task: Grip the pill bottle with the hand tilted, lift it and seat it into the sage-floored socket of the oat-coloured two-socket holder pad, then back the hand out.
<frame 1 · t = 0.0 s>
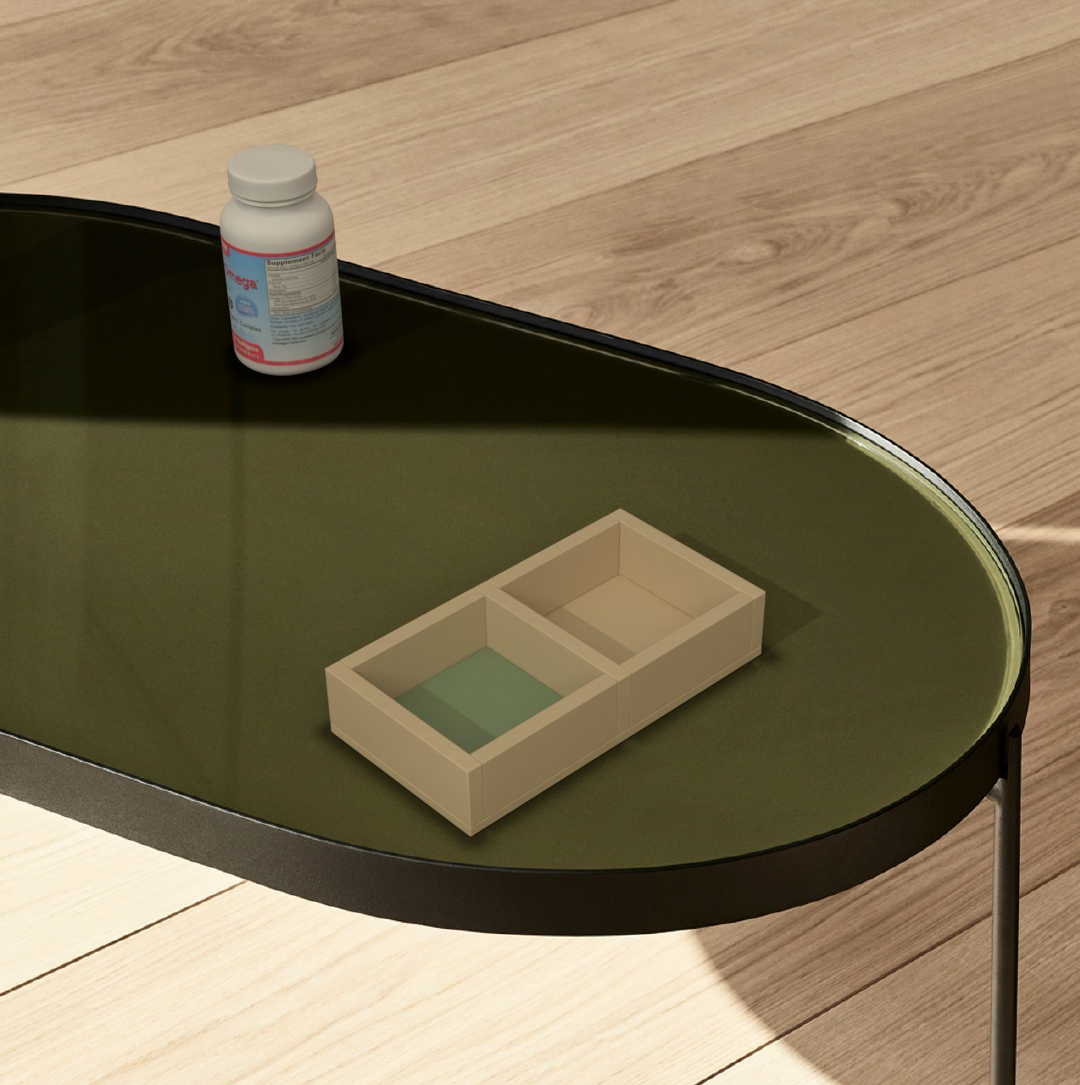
pill bottle: (290, 355, 109), on the table
holder: (551, 692, 86), on the table
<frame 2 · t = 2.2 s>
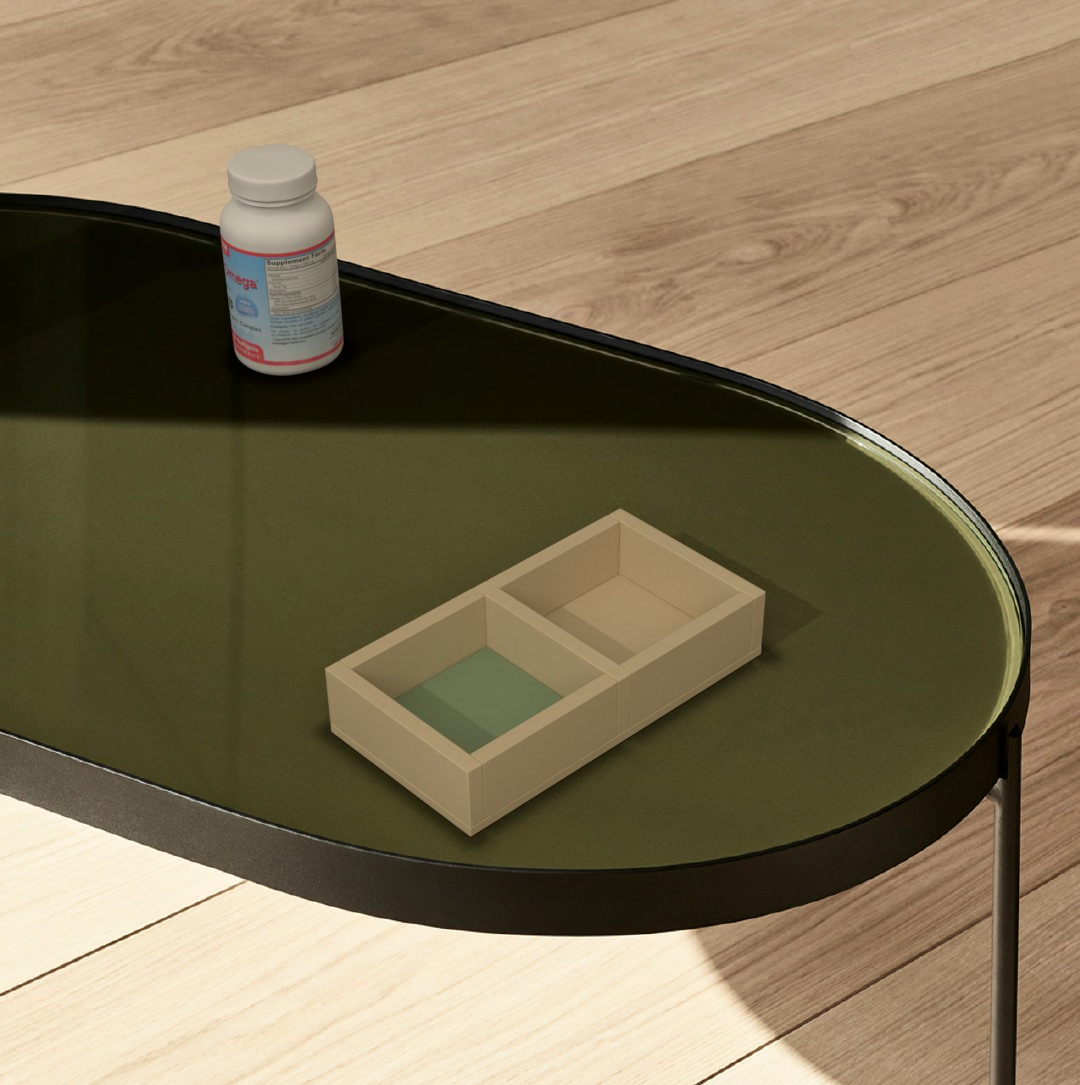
nothing on the table moved.
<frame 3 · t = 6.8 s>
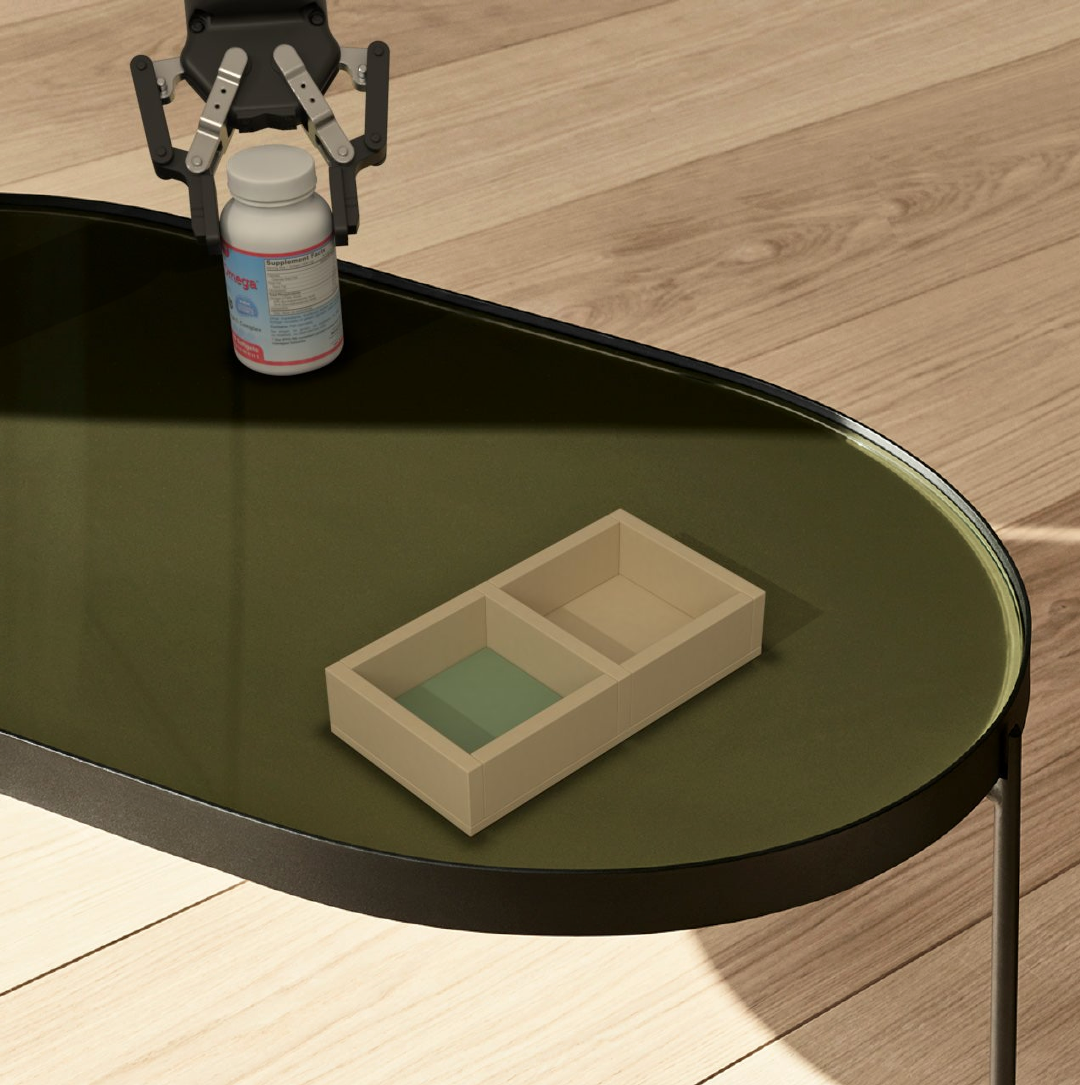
hand: (278, 245, 103), 7 cm above the table, tool tilted 45°, fingers closed on pill bottle, 6 cm apart
pill bottle: (290, 355, 109), on the table, touching gripper
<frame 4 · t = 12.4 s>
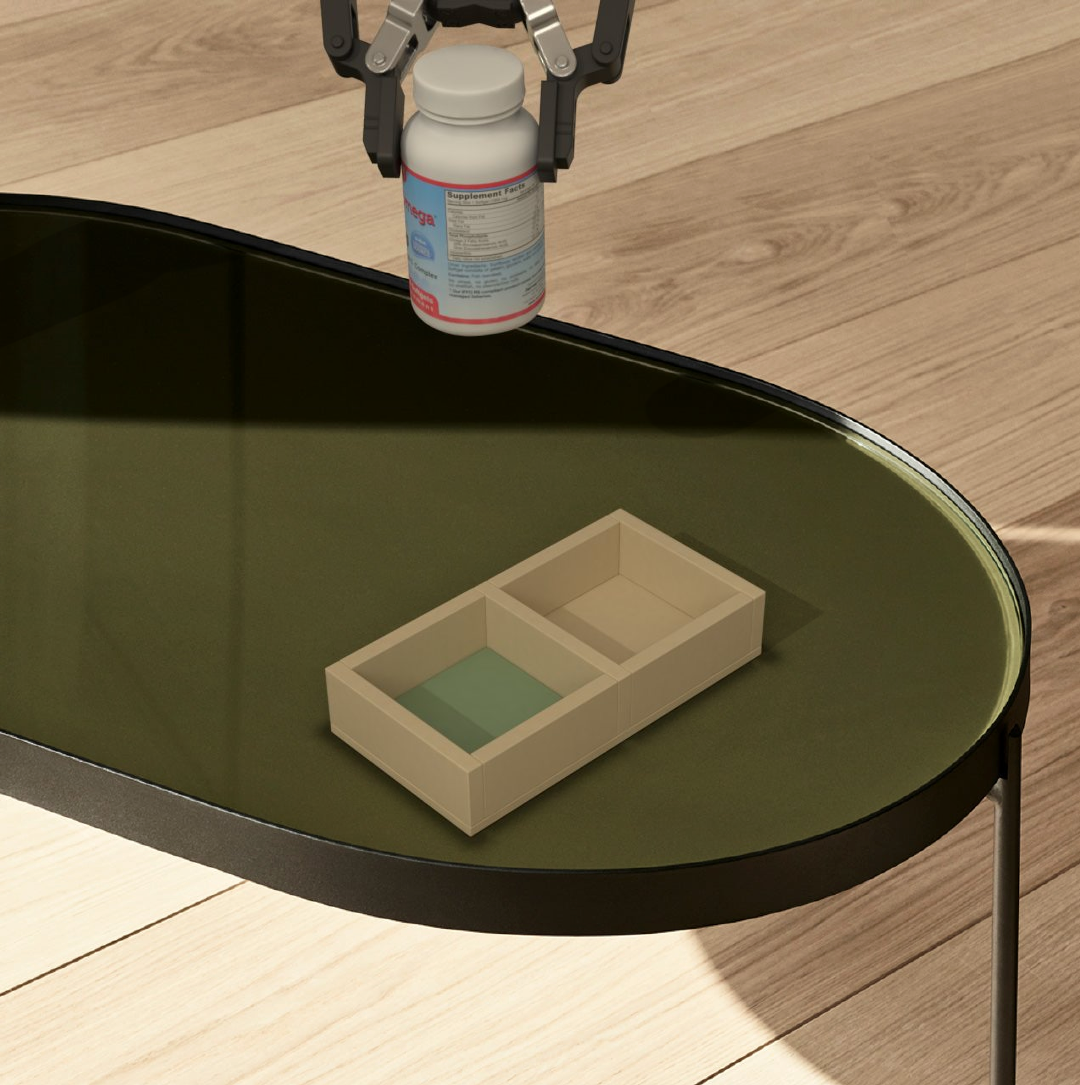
hand: (468, 173, 82), 19 cm above the table, tool tilted 40°, fingers closed on pill bottle, 6 cm apart
pill bottle: (479, 310, 88), point 12 cm above the table, touching gripper
when the fingers open (8 cm above the table, at t = 18.0 s): pill bottle stays where it is, resting on holder.
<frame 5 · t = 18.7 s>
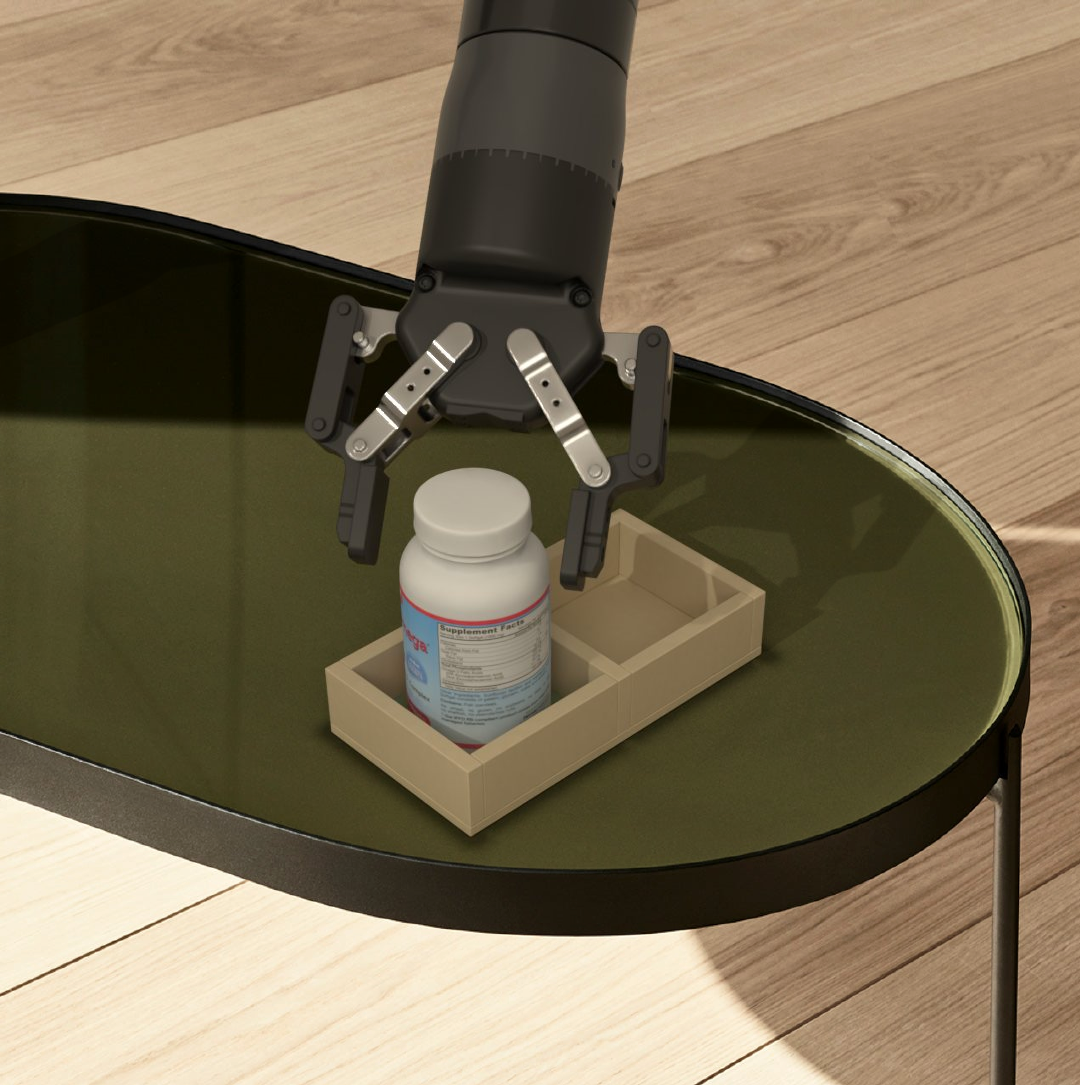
hand: (465, 574, 77), 9 cm above the table, tool tilted 45°, fingers open, 8 cm apart
pill bottle: (480, 722, 84), point 1 cm above the table, touching holder
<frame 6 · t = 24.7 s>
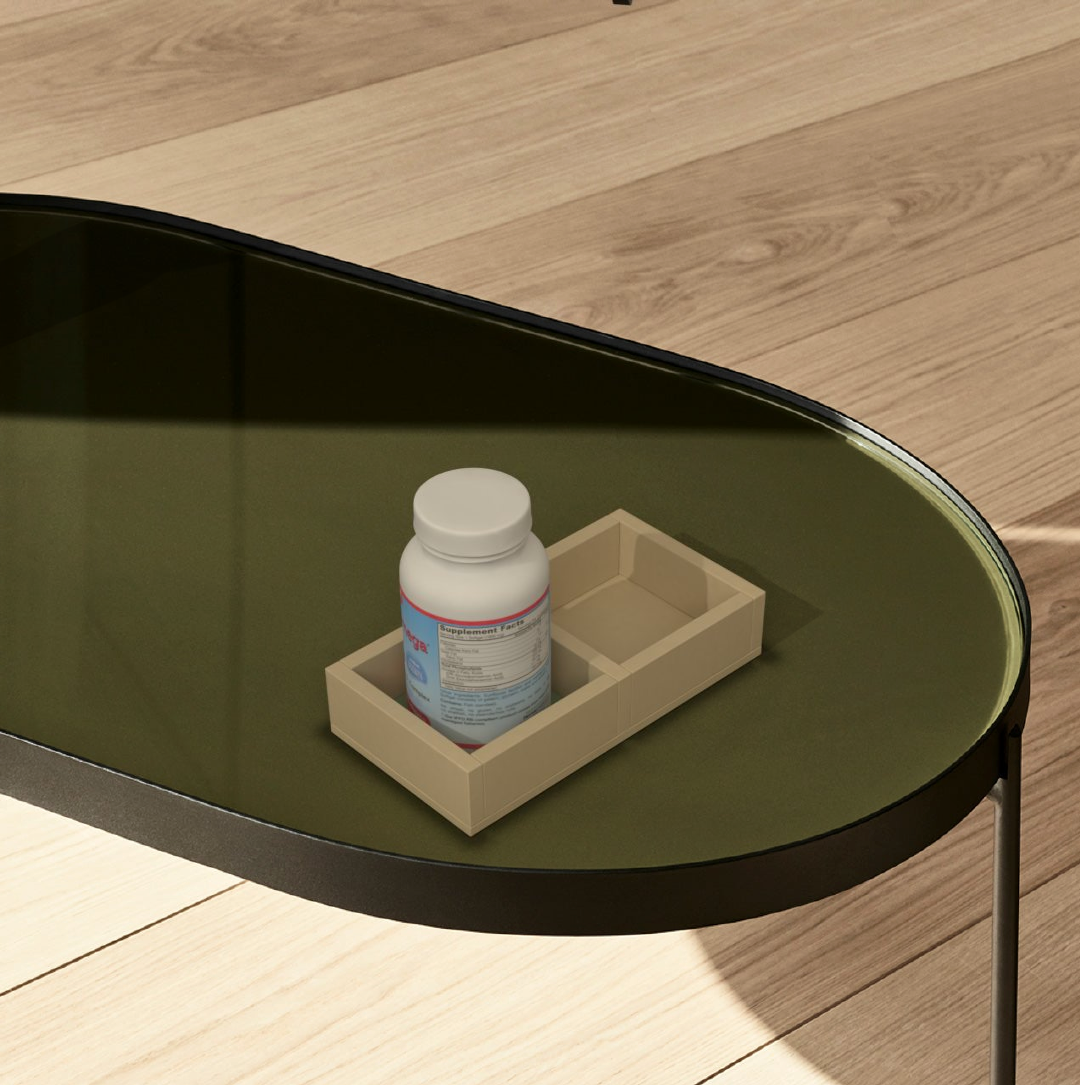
nothing on the table moved.
at the end: pill bottle 0.2 cm from the target spot in the holder, point 0.5 cm above the holder's base; pill bottle tilted 0°; the gripper is holding nothing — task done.
